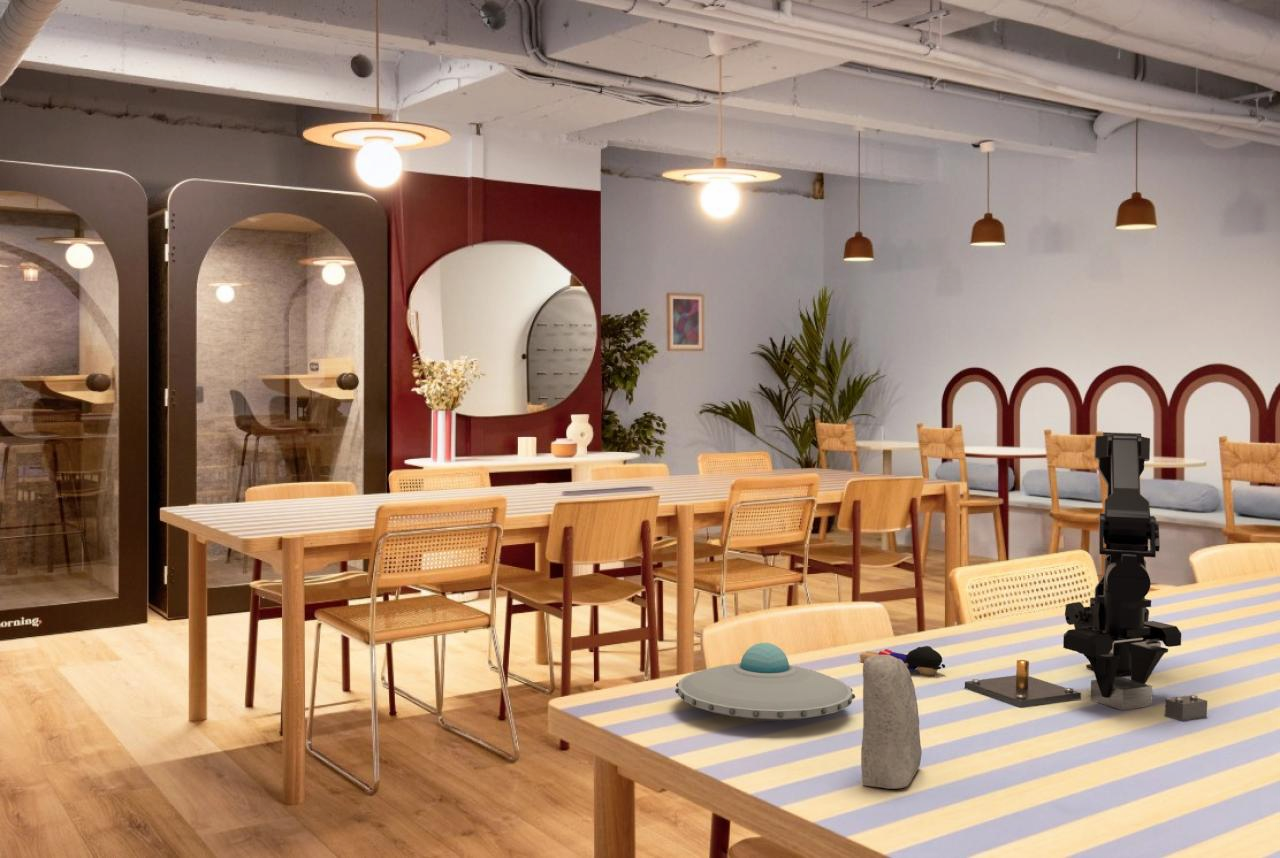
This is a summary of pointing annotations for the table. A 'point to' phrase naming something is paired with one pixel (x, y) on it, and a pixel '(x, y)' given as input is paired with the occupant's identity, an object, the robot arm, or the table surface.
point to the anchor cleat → (1186, 708)
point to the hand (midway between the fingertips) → (1120, 694)
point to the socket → (1124, 694)
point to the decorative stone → (889, 724)
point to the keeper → (1022, 689)
